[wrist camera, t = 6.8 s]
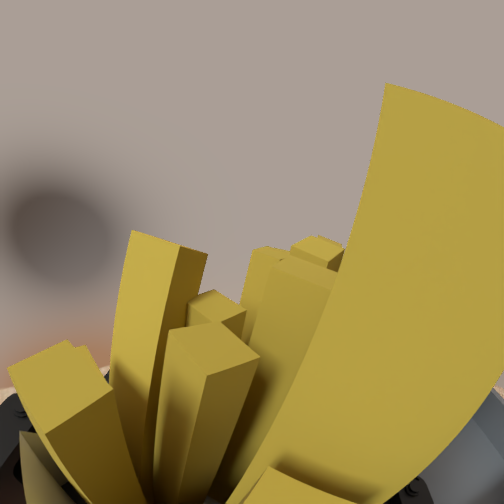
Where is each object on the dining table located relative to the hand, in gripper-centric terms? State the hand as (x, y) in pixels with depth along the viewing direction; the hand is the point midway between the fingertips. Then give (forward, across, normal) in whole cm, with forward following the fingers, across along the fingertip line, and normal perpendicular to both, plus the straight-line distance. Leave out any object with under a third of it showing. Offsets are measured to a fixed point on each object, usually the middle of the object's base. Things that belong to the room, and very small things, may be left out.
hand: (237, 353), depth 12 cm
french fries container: (-5, 0, -10) cm, 11 cm away
